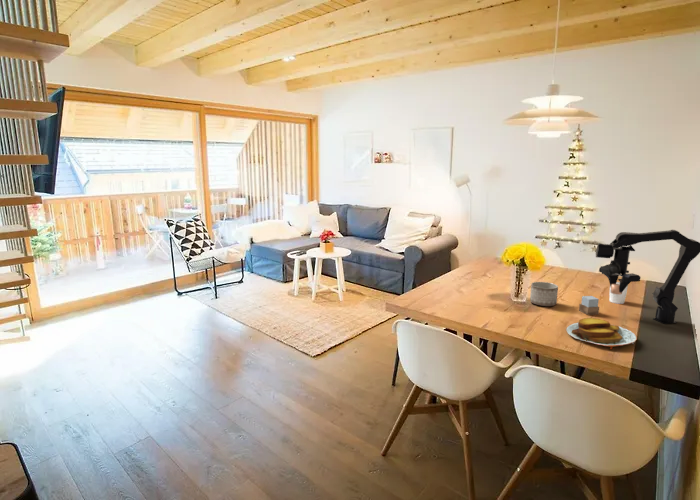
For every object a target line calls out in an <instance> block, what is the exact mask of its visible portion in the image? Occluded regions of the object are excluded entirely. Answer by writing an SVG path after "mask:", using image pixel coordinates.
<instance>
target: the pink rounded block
mask: <svg viewBox="0 0 700 500" xmlns="http://www.w3.org/2000/svg"><path fill="white" fill-rule="evenodd" d="M619 286H620V284H612V285H611V293H613V294H622V293H620V292H619Z"/></svg>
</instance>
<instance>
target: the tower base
mask: <svg viewBox="0 0 700 500" xmlns="http://www.w3.org/2000/svg"><path fill="white" fill-rule="evenodd" d="M578 312H580V313H581V314H584V315H586V316H598V315H599V312H600V306H598V307H587V306H584V305H582V304H581V303H579V306H578Z"/></svg>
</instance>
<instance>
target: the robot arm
mask: <svg viewBox="0 0 700 500" xmlns="http://www.w3.org/2000/svg"><path fill="white" fill-rule="evenodd" d="M667 240H668V241H669V240H673V241H674V242H675V243H677V244H679V245H680V247H679V250H678V258H677V260H676V261H675V262H674V265H673V266H672V269H671V270H670V272H669V274H668V276H667V278H666V280H665V281H664V283H663V285H661V286H656V287H655V289H654V292H652V298H653V301H655V303H656V304H657V309H656V310H655V317H652V320H654V321H657V322H658V323H661V324H664V325H665V324H666V325H667V324H677V323H678V321H676V320H675V316H676V312H677V310H678V309H679V308H678V306H676V304H674V303H673V301H674V297H675V293H676V291H675V290H676V288H677V287H678V284H679V283H680V281H681V280H682V277H683V275H684V273H685V272H686V270H687V269H688V266H689V265H690V263H691V262H692V261H693V260H694V259H696V258H697V256H698V255H700V242H699V241H697V240H695V239H692V238H688V237H687V236H685V235H683V234H682V233H680V231H678V230H676V229H670V230H660V231H651V232H650V231H649V232H648V231H647V232H629V231H627V232H624V231H623V232H619V233H617V234H616V235H615V239H613V240H612V241H611V242H610V243H597V246H596V249H595V258H602V259H611V258H612V257H613V260H612V259H611V260H610V262H609V263H608V264H606V265H602V266H601V265H600V267H599V269H598V272H599V273H601V275H604V276H605V277H606V278H607V279H608V281H609V287H610V286H611V285H612V284H616V282H620V286H619V292H620V293H622V292H623V290H624V289H625V288H626V287H627V285H628V286H629V285H630V283H633V282H635V283H636V282H638V283H639V282H640V281H641V275H639V274H636V273H634V272H633V273H630V270H628V265H631V261H629V259H630V253H631V252H636V249H635V248H634V247H633V245H636V244H639V243H647V242H655V241H657V242H658V241H667ZM619 277H621V278H619Z"/></svg>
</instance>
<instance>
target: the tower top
mask: <svg viewBox="0 0 700 500" xmlns="http://www.w3.org/2000/svg"><path fill="white" fill-rule="evenodd" d="M599 301H600V299H599V298H597V297H595V296H593V295H584V296H583V295H582V297H581V302H580V304H582V305H584V306H587V307H599Z"/></svg>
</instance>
